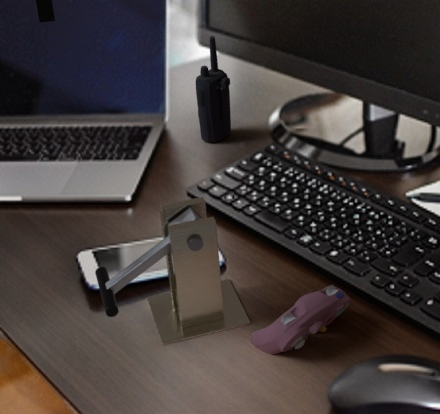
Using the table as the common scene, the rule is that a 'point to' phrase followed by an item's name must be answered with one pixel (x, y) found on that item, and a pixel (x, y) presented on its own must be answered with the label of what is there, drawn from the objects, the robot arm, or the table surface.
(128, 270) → the lever
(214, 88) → the two-way radio
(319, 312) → the pink toy race car
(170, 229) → the bracket
